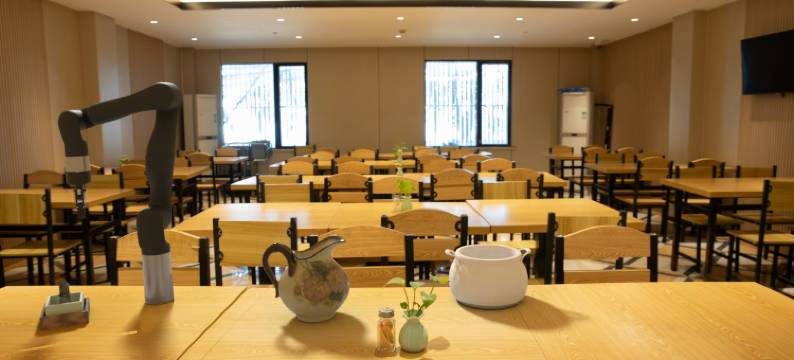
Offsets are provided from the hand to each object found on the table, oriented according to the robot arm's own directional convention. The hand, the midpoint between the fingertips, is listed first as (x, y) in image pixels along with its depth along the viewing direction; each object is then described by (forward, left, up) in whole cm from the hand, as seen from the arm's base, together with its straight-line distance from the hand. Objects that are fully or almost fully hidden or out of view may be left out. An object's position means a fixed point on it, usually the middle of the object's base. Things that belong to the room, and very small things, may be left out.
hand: (82, 216), depth 205 cm
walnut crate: (+6, +17, -30) cm, 35 cm away
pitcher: (-65, +50, -30) cm, 87 cm away
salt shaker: (+6, +17, -29) cm, 34 cm away
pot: (-123, +62, -30) cm, 141 cm away
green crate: (+6, +17, -29) cm, 34 cm away
